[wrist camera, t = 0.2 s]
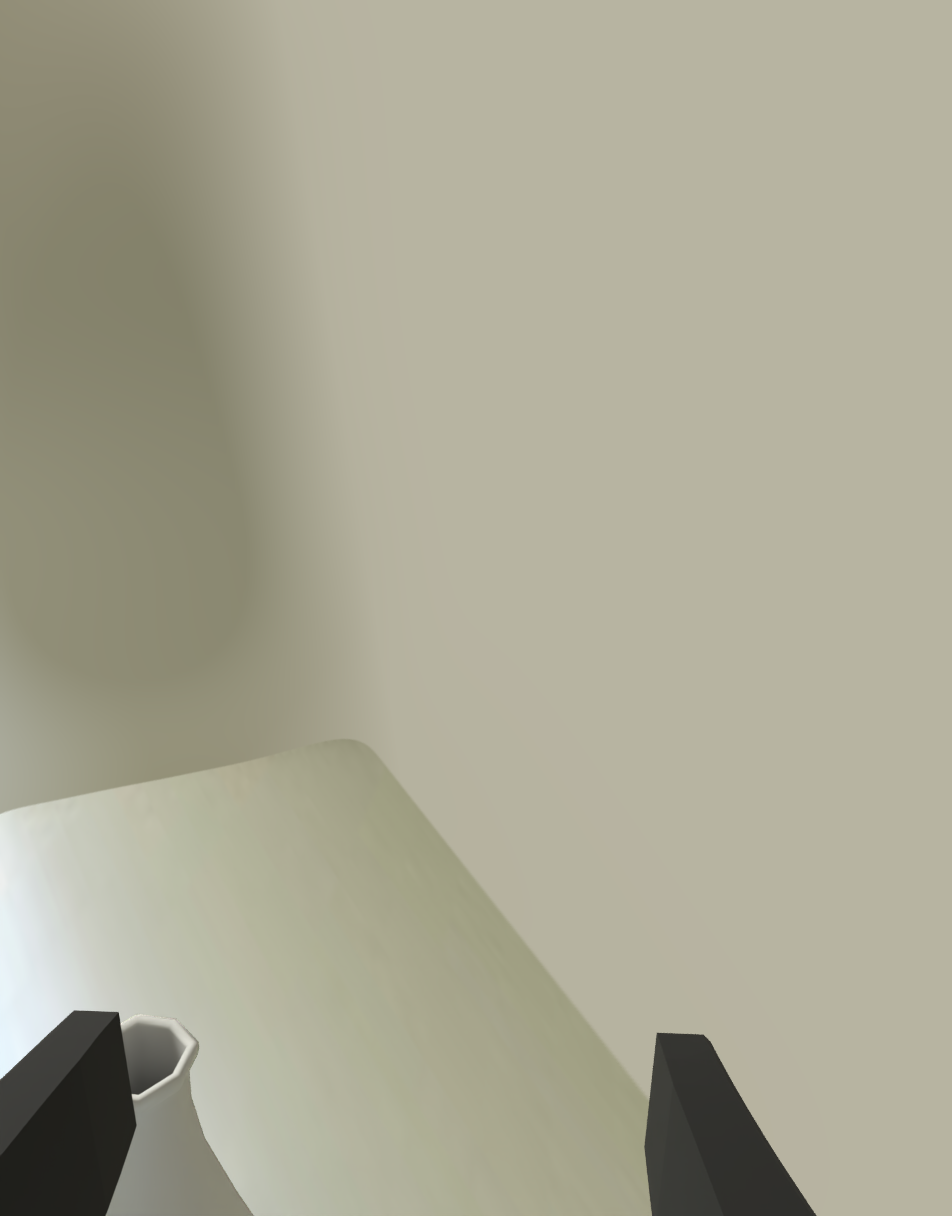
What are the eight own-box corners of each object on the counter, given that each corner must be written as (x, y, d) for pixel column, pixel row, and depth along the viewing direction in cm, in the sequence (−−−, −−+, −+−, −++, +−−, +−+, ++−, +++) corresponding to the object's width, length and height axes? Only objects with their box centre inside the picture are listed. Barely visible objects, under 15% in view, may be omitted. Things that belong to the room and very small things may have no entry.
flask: (312, 1242, 30) (312, 1014, 27) (163, 1481, 24) (140, 1218, 21) (152, 1158, 33) (135, 941, 30) (-21, 1352, 26) (-65, 1101, 23)
